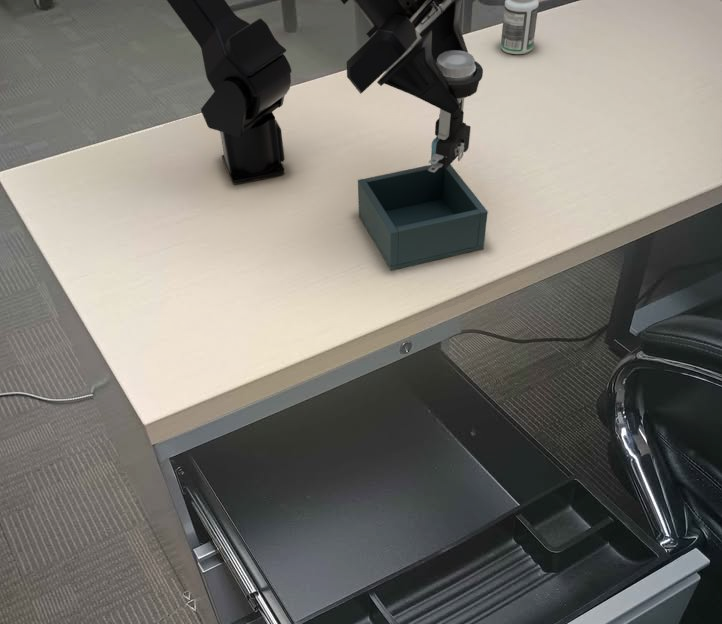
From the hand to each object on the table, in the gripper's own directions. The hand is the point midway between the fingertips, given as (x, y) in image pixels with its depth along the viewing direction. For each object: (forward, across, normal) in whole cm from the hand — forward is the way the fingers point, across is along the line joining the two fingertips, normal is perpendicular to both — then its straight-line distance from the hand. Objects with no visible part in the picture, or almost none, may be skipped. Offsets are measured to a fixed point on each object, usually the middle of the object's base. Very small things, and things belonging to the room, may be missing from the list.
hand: (465, 98), depth 75 cm
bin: (+8, -4, +12) cm, 14 cm away
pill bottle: (+6, +45, +14) cm, 47 cm away
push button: (+4, 0, +6) cm, 7 cm away
